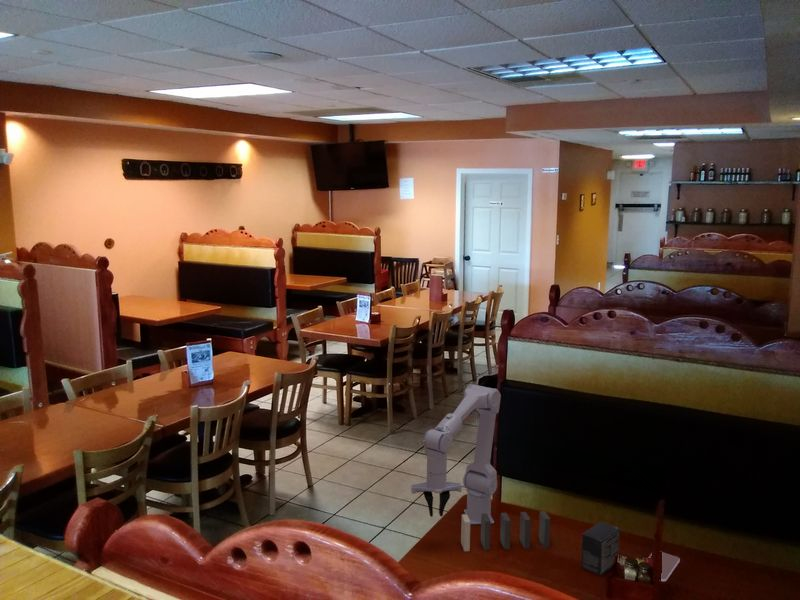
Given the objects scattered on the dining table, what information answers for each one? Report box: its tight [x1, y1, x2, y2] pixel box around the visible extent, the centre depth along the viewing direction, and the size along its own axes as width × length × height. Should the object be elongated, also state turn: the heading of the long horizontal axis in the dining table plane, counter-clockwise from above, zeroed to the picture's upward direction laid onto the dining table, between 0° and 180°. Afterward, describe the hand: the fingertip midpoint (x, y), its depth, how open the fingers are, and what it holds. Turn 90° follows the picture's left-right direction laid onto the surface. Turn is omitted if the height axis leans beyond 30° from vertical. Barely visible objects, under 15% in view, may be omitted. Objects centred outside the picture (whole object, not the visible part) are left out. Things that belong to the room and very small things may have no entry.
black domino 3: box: [499, 512, 512, 550], centre depth 195 cm, size 2×5×9 cm, turn 6°
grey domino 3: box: [538, 510, 551, 549], centre depth 196 cm, size 2×5×9 cm, turn 6°
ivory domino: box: [460, 513, 471, 552], centre depth 194 cm, size 2×5×9 cm, turn 6°
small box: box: [581, 521, 621, 576], centre depth 185 cm, size 11×6×10 cm, turn 134°
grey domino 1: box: [480, 513, 492, 551], centre depth 194 cm, size 2×5×9 cm, turn 6°
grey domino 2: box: [519, 511, 532, 550], centre depth 196 cm, size 2×5×9 cm, turn 6°
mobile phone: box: [648, 551, 681, 582], centre depth 185 cm, size 8×1×15 cm
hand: (435, 514), depth 192 cm, fingers open, 2 cm apart
